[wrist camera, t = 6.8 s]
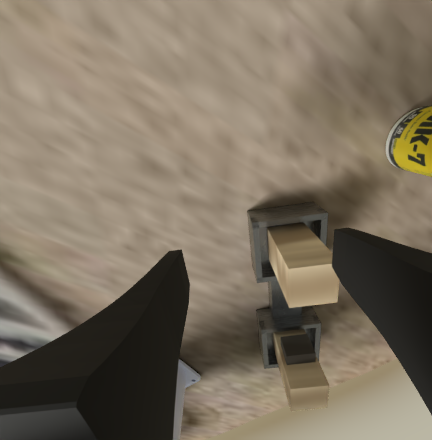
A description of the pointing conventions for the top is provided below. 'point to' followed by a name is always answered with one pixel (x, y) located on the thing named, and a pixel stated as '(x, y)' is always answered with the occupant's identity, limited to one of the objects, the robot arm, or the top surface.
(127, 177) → the top surface
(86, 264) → the top surface
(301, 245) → the beige wooden block
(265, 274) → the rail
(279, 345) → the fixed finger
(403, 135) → the supplement bottle
